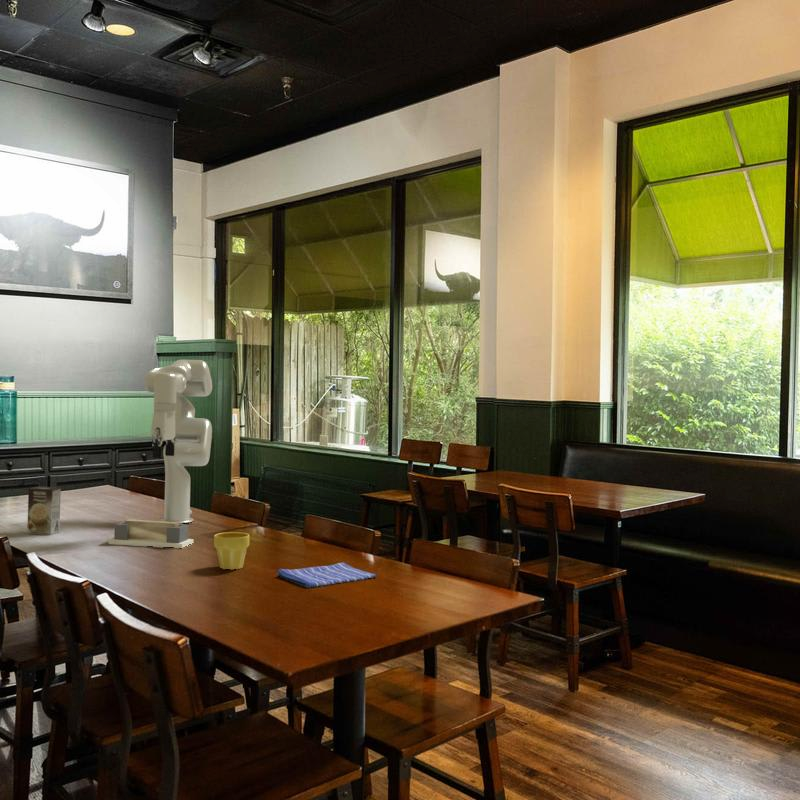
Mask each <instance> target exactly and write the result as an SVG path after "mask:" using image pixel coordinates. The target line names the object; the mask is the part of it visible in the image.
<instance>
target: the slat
mask: <svg viewBox="0 0 800 800" xmlns="http://www.w3.org/2000/svg"><path fill="white" fill-rule="evenodd" d="M124 521H125V524H129V539H141V540H158V541H167V527H179V522H163V521H160V520H143V519H142V520H141V519H126V520H124Z"/></svg>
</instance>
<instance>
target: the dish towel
mask: <svg viewBox="0 0 800 800" xmlns="http://www.w3.org/2000/svg"><path fill="white" fill-rule="evenodd" d="M276 573H277V576H278V577H279V576H280V577H279V578H281V577H282V578H281V579H283V578H284V580H286V581H288V580H289V581H288V582H291V583H293V582H294V584H296V585H298V584H299V586H301V587H303V586H304V587H303V588H305V587H306V588H305V589H311V587H312V588H319V587H318V586H320V587H325V586H324V585H327V586H331V585H330V584H334V585H337V584H336V583H341V584H344V583H343V582H347V583H351V582H350V581H354V582H358V581H357V580H360V581H365V580H364V579H366V580H369V579H368V578H371V579H375V578H376V577H377V574H376V573H371V572H368V571H365V570H362V569H359V568H355V567H353V566H351V565H349V564H347V563H346V562H344V561H343V562H339V563H335V564H329V565H321V566H312V567H305V568H297V569H296V568H295V569H288V568H286V569H285V568H279V570H278V571H276ZM374 577H375V578H374Z"/></svg>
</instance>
